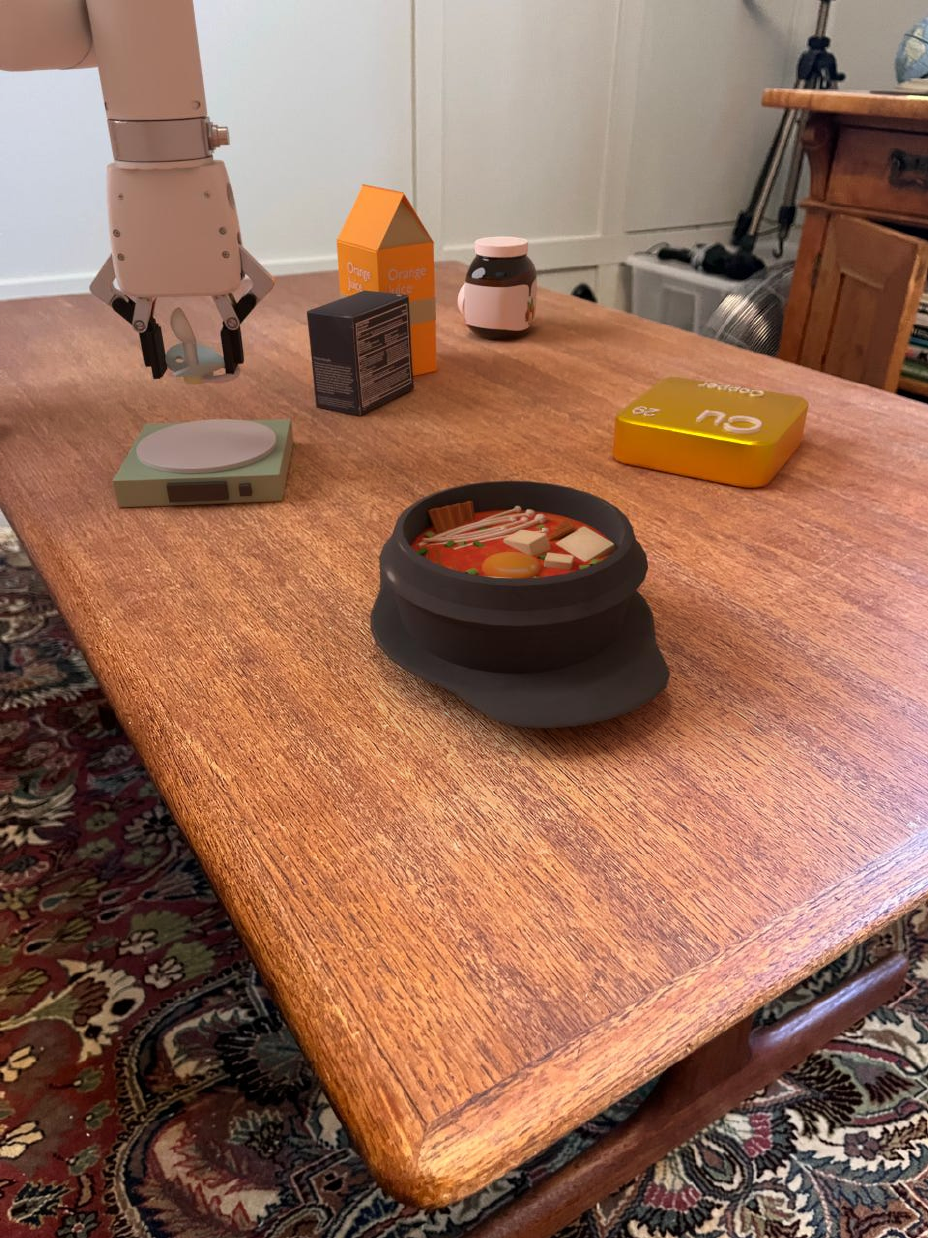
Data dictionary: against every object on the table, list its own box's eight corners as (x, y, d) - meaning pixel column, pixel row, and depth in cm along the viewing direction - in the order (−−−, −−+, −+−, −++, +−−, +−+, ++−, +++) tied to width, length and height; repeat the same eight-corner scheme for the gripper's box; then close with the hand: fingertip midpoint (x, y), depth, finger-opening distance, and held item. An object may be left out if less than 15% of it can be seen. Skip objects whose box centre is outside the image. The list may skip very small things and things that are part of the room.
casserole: (325, 582, 72) (315, 476, 68) (550, 537, 78) (554, 438, 74) (452, 790, 52) (449, 659, 48) (740, 708, 59) (761, 586, 54)
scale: (116, 510, 83) (109, 477, 82) (149, 448, 96) (144, 418, 94) (282, 503, 84) (278, 471, 83) (293, 442, 97) (290, 413, 95)
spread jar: (507, 345, 125) (508, 250, 119) (433, 334, 131) (430, 242, 125) (550, 324, 134) (553, 234, 128) (479, 314, 139) (479, 227, 133)
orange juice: (382, 382, 113) (372, 195, 102) (344, 365, 119) (331, 186, 109) (438, 370, 117) (434, 188, 106) (398, 353, 123) (390, 180, 113)
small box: (369, 380, 114) (363, 287, 108) (416, 389, 111) (412, 294, 105) (312, 407, 106) (303, 308, 100) (361, 417, 103) (354, 315, 98)
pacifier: (231, 364, 90) (164, 371, 88) (222, 293, 87) (153, 300, 84) (250, 386, 84) (179, 395, 82) (242, 312, 81) (168, 319, 79)
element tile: (806, 439, 96) (815, 392, 94) (763, 493, 85) (771, 441, 83) (661, 414, 103) (666, 369, 101) (604, 461, 92) (608, 411, 90)
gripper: (277, 137, 80) (298, 357, 89) (62, 141, 79) (106, 363, 88) (269, 146, 73) (292, 383, 83) (34, 151, 72) (85, 390, 82)
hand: (196, 371), depth 85 cm, fingers closed on pacifier, 5 cm apart
